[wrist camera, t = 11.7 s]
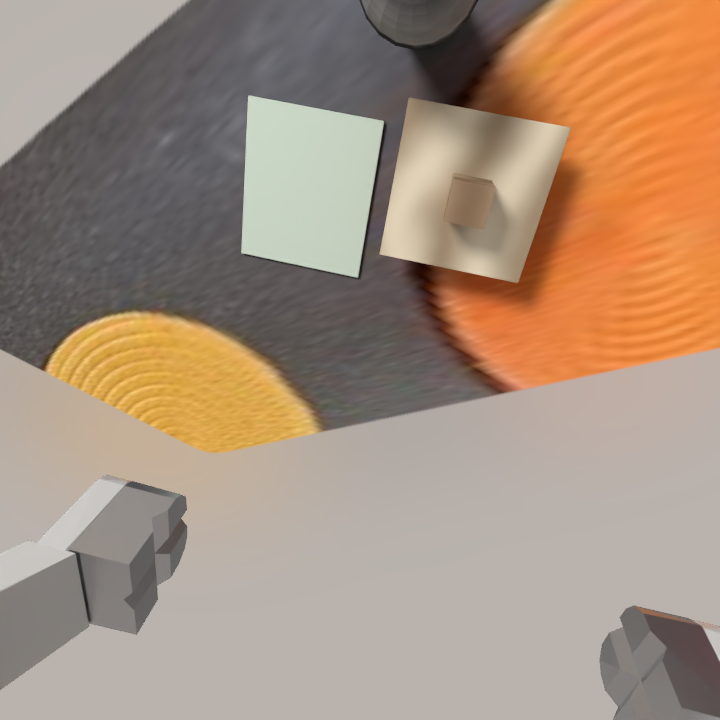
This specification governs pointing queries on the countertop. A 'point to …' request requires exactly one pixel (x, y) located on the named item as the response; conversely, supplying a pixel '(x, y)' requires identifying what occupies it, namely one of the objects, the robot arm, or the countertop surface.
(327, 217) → the mat
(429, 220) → the cover
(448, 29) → the beverage cup
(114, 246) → the countertop surface
